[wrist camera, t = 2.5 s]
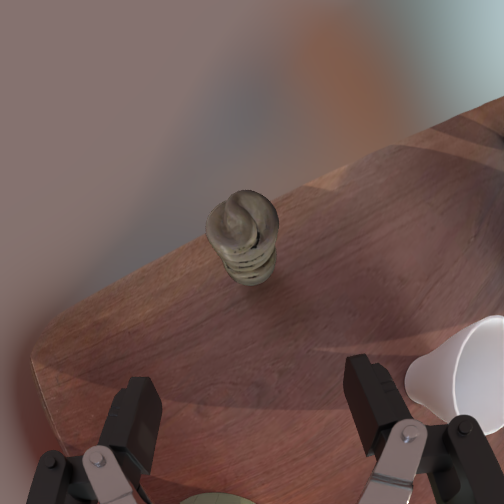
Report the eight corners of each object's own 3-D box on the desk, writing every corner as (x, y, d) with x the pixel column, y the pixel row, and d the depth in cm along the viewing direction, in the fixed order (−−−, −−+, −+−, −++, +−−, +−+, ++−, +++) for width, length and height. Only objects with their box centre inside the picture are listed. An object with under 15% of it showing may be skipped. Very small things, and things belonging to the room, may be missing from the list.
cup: (400, 435, 26) (465, 459, 14) (375, 359, 30) (436, 349, 18) (465, 394, 27) (537, 392, 15) (442, 323, 31) (511, 295, 19)
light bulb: (249, 310, 33) (236, 265, 20) (217, 276, 35) (185, 213, 21) (284, 276, 35) (295, 211, 21) (252, 245, 36) (243, 168, 23)
